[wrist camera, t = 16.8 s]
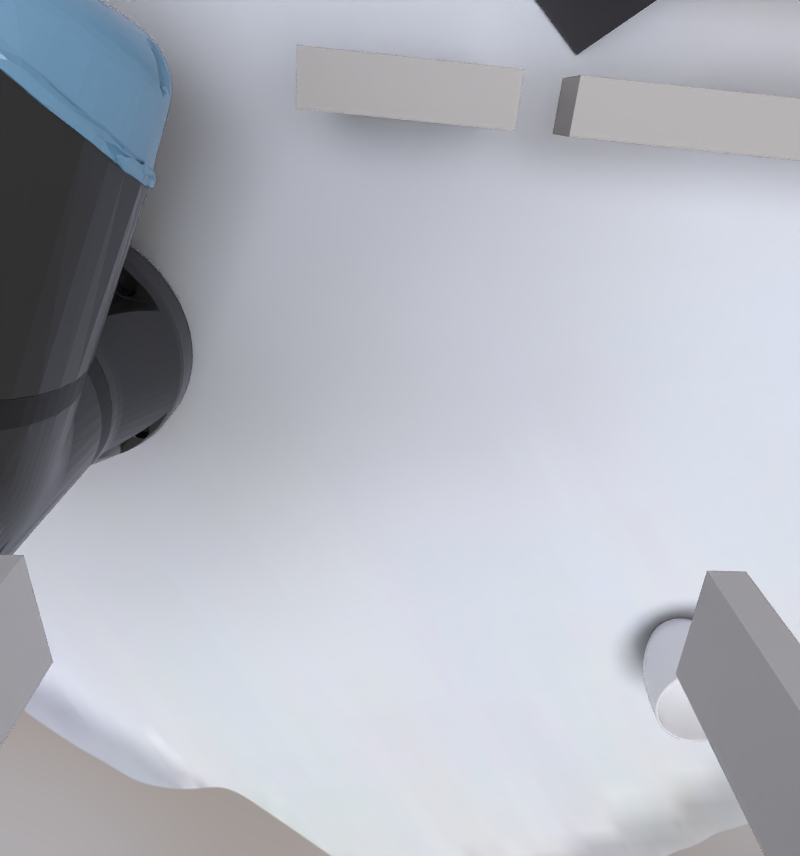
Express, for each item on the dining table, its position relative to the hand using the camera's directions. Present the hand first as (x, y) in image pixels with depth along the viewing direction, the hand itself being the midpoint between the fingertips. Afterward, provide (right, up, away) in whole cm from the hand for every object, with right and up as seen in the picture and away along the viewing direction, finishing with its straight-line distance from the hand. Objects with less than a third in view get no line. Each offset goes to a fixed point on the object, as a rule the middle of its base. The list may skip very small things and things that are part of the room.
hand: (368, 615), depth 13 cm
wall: (+13, +21, +23) cm, 34 cm away
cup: (+24, -12, +40) cm, 48 cm away
